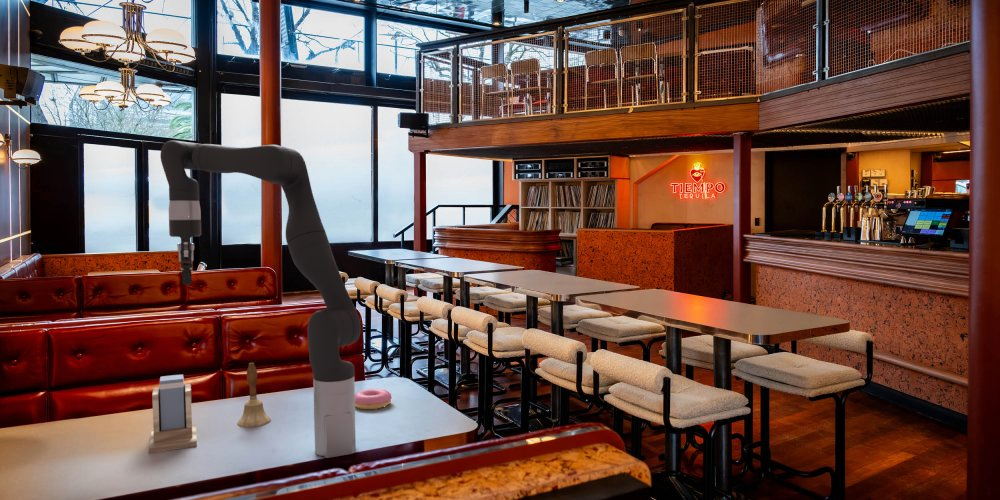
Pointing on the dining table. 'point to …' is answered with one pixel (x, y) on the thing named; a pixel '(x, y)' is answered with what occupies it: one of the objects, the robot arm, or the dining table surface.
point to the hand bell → (253, 404)
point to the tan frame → (174, 436)
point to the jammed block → (172, 402)
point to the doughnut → (372, 398)
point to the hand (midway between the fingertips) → (187, 284)
